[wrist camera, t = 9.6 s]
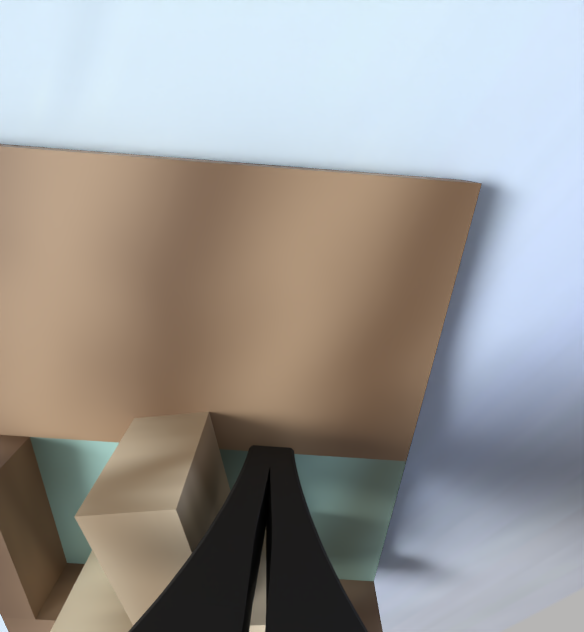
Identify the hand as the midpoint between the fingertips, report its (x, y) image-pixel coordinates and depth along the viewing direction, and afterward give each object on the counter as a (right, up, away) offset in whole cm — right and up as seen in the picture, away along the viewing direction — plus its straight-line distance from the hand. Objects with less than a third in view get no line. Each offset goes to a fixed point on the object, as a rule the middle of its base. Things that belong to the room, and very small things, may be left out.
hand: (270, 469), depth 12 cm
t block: (-3, -2, +2) cm, 4 cm away
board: (-2, +1, +2) cm, 3 cm away
